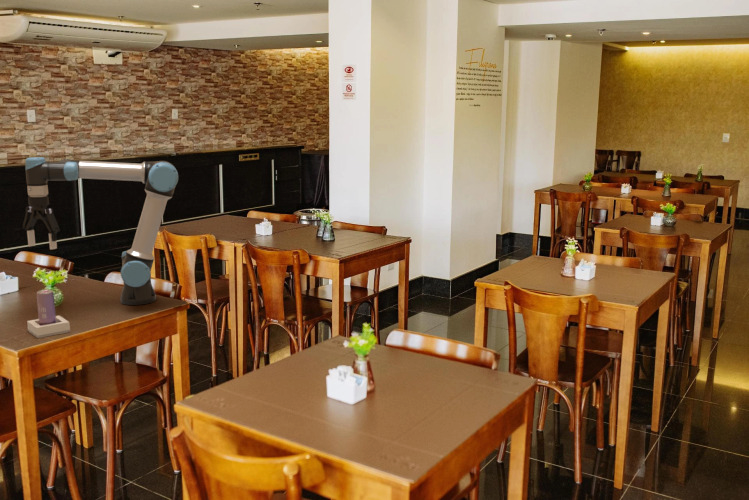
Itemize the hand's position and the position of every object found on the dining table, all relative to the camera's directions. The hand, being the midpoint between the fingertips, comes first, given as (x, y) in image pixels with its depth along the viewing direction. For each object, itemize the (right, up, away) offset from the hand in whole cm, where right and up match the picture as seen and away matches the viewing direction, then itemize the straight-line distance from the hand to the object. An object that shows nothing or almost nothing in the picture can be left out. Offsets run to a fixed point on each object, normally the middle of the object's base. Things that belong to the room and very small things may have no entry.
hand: (42, 247), depth 301 cm
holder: (+10, -33, -17) cm, 38 cm away
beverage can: (+10, -32, -17) cm, 38 cm away
